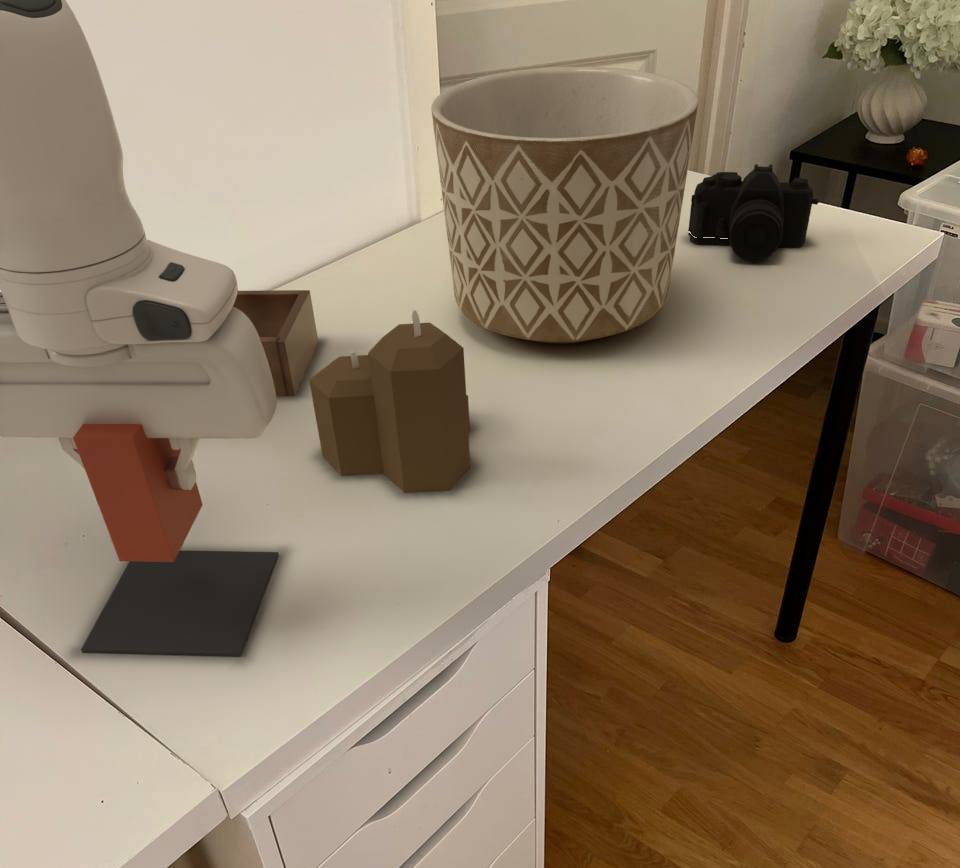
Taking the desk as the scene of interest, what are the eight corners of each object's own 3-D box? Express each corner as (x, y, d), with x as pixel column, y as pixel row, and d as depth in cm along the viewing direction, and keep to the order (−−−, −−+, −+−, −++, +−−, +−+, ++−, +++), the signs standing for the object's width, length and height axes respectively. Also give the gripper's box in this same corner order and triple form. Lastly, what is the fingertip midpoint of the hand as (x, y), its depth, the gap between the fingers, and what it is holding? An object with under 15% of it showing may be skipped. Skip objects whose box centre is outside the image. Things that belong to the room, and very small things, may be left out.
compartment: (189, 396, 99) (175, 341, 95) (222, 343, 108) (209, 290, 104) (294, 396, 98) (284, 341, 94) (318, 342, 107) (310, 289, 103)
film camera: (683, 262, 119) (691, 186, 113) (688, 233, 126) (696, 159, 120) (811, 268, 116) (826, 190, 110) (809, 238, 123) (823, 162, 117)
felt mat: (82, 653, 71) (80, 649, 71) (137, 553, 80) (135, 549, 80) (240, 657, 70) (239, 653, 70) (279, 555, 79) (278, 551, 79)
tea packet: (119, 561, 68) (72, 437, 61) (151, 504, 73) (111, 383, 66) (174, 562, 68) (133, 437, 61) (203, 504, 73) (168, 383, 66)
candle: (514, 465, 87) (511, 304, 77) (381, 517, 82) (358, 352, 72) (438, 404, 96) (426, 252, 86) (313, 447, 91) (285, 292, 81)
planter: (600, 252, 122) (609, 54, 107) (723, 332, 105) (754, 108, 90) (410, 297, 115) (391, 90, 100) (509, 391, 97) (504, 157, 82)
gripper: (-107, 315, 57) (-15, 509, 66) (232, 313, 55) (277, 513, 64) (-55, 272, 61) (24, 459, 71) (259, 269, 60) (297, 461, 69)
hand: (147, 485), depth 68 cm, fingers closed on tea packet, 4 cm apart
